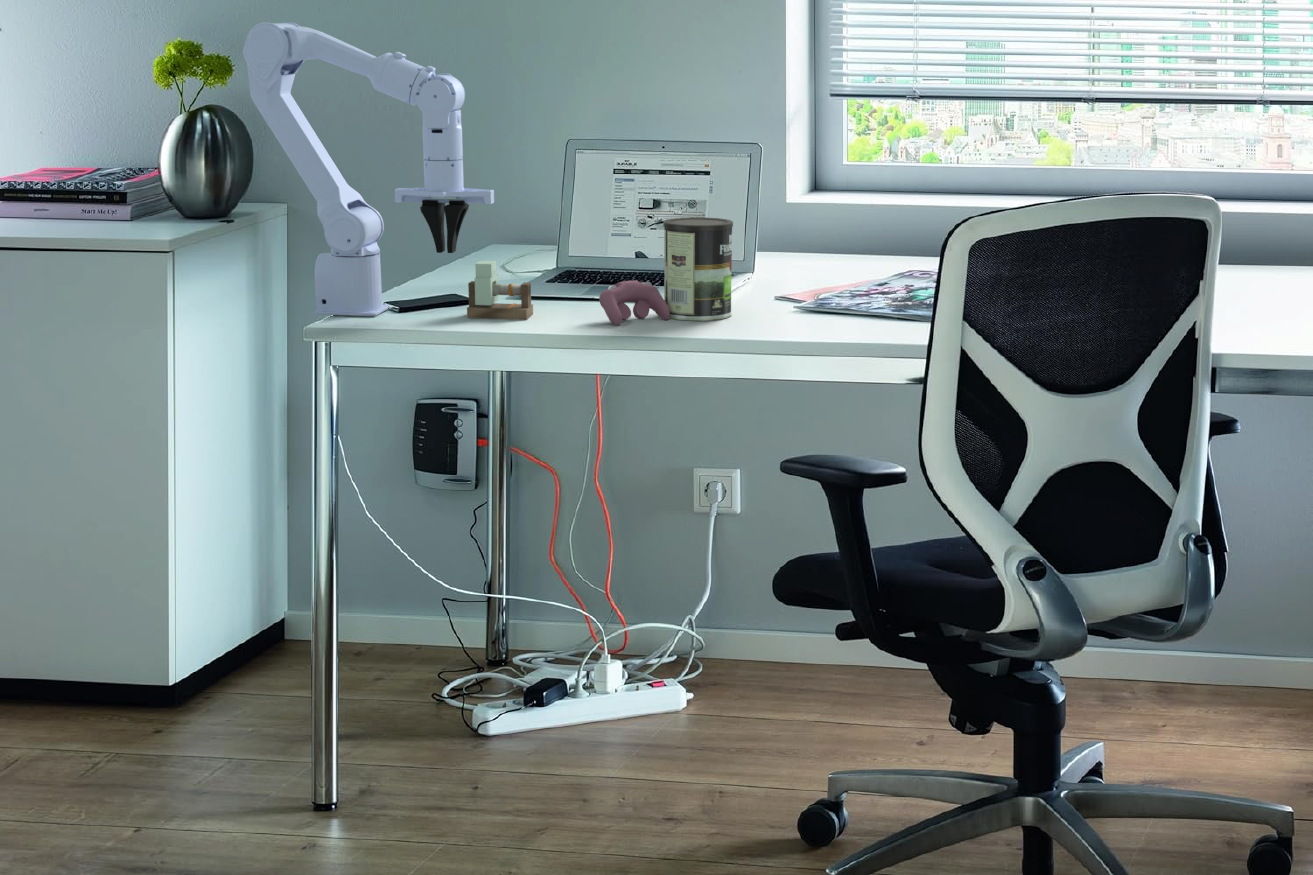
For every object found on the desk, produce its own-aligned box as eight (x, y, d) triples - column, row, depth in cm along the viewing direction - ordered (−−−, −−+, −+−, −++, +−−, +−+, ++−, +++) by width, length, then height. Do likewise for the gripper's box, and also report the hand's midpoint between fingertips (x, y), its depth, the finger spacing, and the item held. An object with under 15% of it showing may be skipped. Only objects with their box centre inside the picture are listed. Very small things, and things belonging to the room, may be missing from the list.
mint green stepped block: (475, 304, 230) (474, 264, 228) (482, 299, 234) (481, 260, 232) (491, 305, 229) (490, 264, 228) (498, 300, 233) (497, 260, 232)
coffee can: (736, 310, 237) (737, 217, 233) (725, 322, 227) (727, 226, 223) (670, 307, 239) (670, 215, 235) (656, 320, 229) (657, 224, 225)
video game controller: (659, 326, 232) (648, 282, 233) (674, 317, 228) (662, 272, 229) (602, 333, 227) (591, 288, 228) (617, 324, 223) (605, 278, 224)
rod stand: (467, 317, 230) (466, 284, 229) (474, 312, 234) (473, 279, 233) (526, 319, 229) (525, 286, 228) (533, 314, 233) (532, 281, 232)
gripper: (386, 161, 224) (390, 254, 228) (484, 162, 222) (487, 257, 226) (401, 156, 231) (405, 248, 234) (496, 158, 229) (498, 250, 232)
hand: (446, 252), depth 230 cm, fingers closed
